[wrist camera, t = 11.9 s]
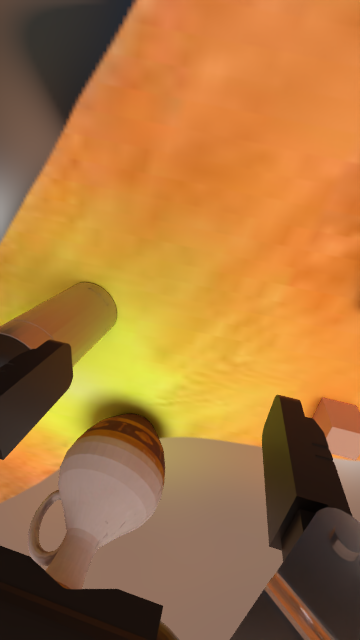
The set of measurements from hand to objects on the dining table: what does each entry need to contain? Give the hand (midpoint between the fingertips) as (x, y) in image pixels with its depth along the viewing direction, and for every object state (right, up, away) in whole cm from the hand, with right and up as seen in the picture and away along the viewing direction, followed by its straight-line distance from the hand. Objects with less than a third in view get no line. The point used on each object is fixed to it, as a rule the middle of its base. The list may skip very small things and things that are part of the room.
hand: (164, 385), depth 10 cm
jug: (-9, -20, +46) cm, 51 cm away
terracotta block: (+25, -12, +33) cm, 43 cm away
